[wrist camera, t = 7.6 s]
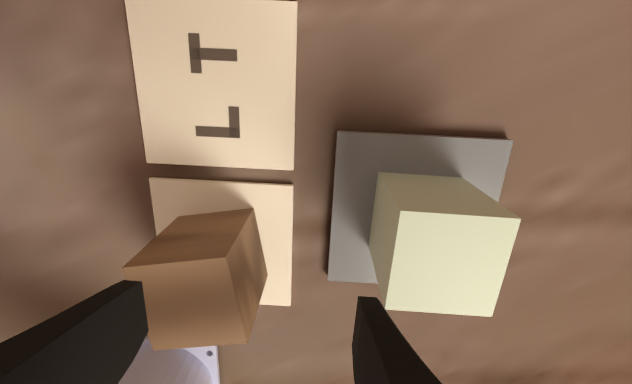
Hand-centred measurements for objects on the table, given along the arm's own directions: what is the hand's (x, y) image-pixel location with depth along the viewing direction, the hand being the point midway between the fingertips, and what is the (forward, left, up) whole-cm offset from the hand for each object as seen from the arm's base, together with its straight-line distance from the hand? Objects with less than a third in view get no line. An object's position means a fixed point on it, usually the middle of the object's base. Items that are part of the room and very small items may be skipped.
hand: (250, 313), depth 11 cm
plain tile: (-3, +4, -10) cm, 12 cm away
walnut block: (-3, +4, -10) cm, 11 cm away
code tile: (+7, +4, -10) cm, 13 cm away
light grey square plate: (0, -8, -10) cm, 13 cm away
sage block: (0, -8, -10) cm, 13 cm away
